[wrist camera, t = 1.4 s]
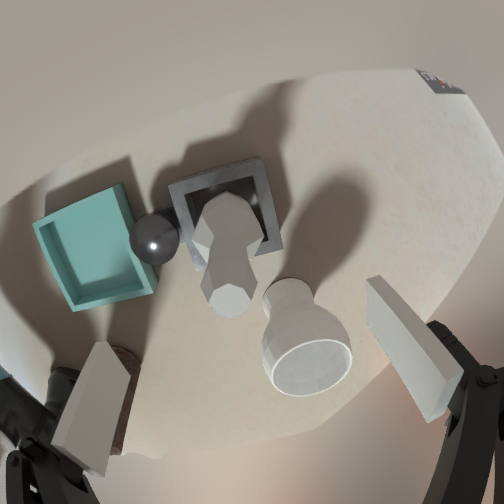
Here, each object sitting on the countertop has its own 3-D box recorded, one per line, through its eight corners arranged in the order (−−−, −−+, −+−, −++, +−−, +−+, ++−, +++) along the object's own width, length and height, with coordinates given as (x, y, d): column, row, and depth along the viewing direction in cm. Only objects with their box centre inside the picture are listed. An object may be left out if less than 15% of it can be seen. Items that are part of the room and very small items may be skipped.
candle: (139, 346, 44) (111, 443, 25) (146, 374, 46) (126, 464, 28) (101, 342, 43) (62, 430, 24) (110, 369, 46) (82, 453, 27)
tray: (81, 300, 39) (73, 312, 36) (44, 216, 33) (31, 223, 30) (158, 280, 39) (153, 293, 36) (122, 182, 33) (112, 187, 30)
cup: (249, 273, 40) (262, 343, 26) (321, 264, 40) (363, 325, 27) (255, 331, 44) (267, 405, 30) (319, 322, 45) (350, 389, 31)
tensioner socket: (156, 268, 38) (147, 287, 33) (129, 195, 34) (114, 204, 29) (277, 236, 38) (285, 252, 33) (258, 156, 34) (264, 159, 29)
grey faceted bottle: (261, 206, 36) (306, 296, 16) (228, 241, 38) (234, 358, 17) (225, 174, 34) (224, 225, 14) (192, 210, 36) (153, 304, 15)
